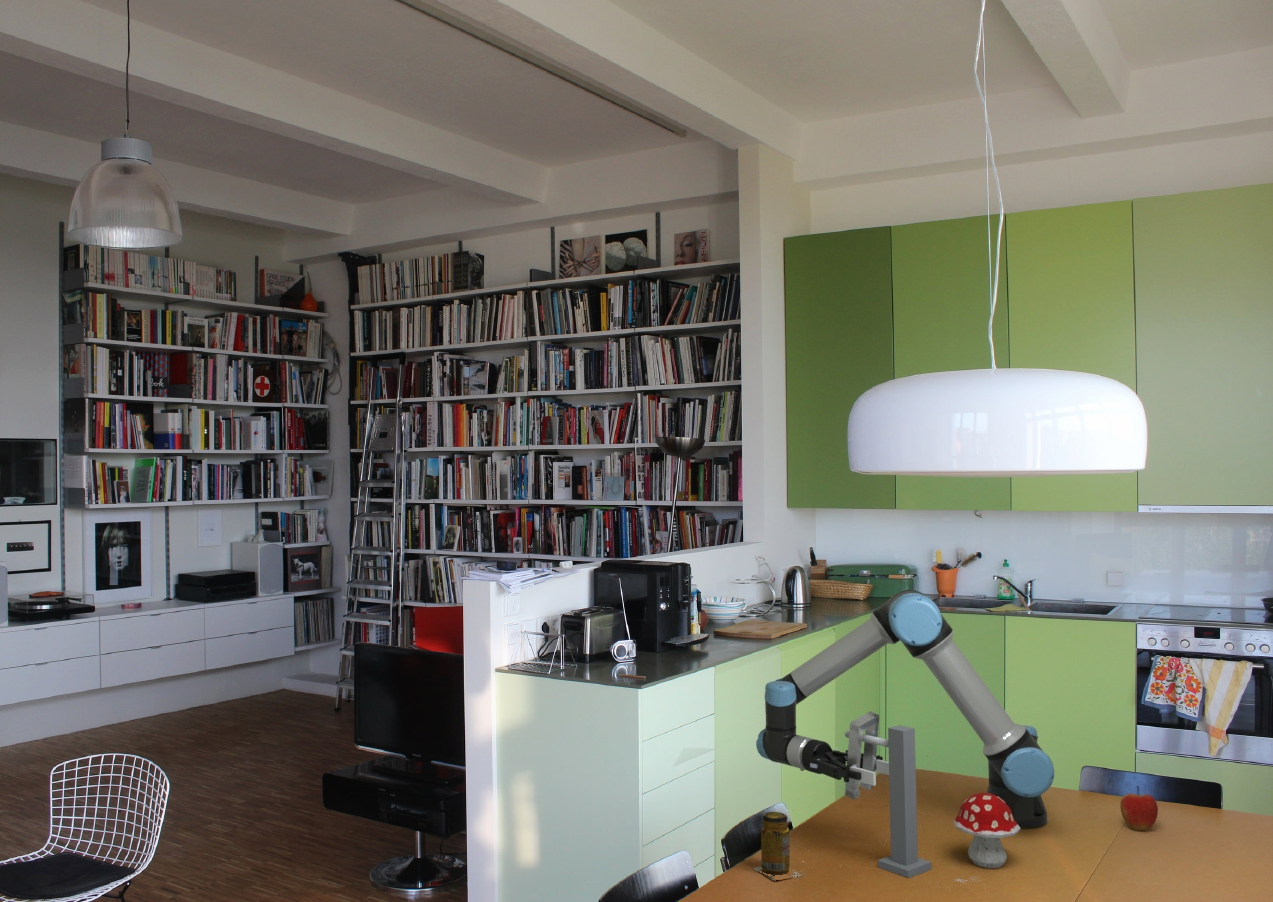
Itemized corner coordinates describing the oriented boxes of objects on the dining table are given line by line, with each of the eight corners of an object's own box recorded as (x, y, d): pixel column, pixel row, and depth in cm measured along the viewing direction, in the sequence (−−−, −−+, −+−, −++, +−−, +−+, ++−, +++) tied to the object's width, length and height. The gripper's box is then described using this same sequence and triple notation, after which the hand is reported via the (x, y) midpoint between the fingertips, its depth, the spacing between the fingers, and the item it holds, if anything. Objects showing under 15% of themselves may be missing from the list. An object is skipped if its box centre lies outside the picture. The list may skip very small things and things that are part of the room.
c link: (864, 782, 228) (870, 711, 224) (873, 786, 227) (879, 714, 223) (844, 795, 223) (850, 722, 219) (853, 799, 221) (859, 726, 217)
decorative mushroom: (941, 861, 217) (939, 792, 218) (978, 847, 226) (976, 780, 226) (998, 880, 206) (995, 807, 207) (1034, 864, 215) (1032, 794, 215)
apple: (1122, 832, 234) (1120, 789, 235) (1119, 822, 242) (1118, 780, 242) (1160, 836, 231) (1159, 793, 232) (1156, 825, 239) (1155, 784, 239)
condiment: (780, 863, 217) (779, 808, 218) (802, 876, 210) (801, 819, 210) (752, 869, 214) (751, 813, 215) (774, 882, 207) (773, 824, 207)
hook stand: (931, 868, 213) (928, 728, 214) (908, 877, 208) (905, 734, 209) (859, 844, 229) (856, 713, 230) (836, 852, 224) (833, 718, 225)
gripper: (840, 763, 242) (917, 783, 224) (779, 778, 229) (856, 801, 211) (839, 732, 242) (916, 750, 224) (779, 746, 229) (856, 766, 211)
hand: (887, 775), depth 218 cm, fingers closed on c link, 8 cm apart
